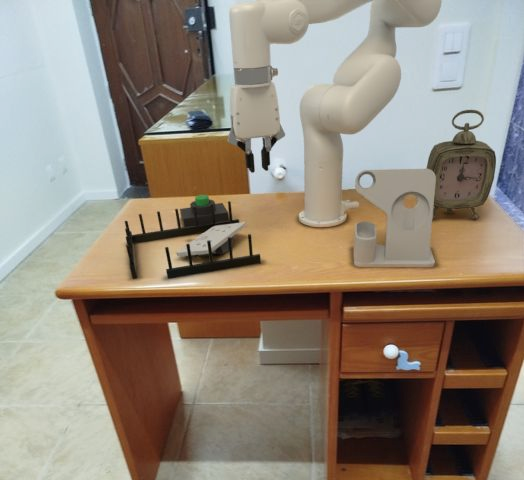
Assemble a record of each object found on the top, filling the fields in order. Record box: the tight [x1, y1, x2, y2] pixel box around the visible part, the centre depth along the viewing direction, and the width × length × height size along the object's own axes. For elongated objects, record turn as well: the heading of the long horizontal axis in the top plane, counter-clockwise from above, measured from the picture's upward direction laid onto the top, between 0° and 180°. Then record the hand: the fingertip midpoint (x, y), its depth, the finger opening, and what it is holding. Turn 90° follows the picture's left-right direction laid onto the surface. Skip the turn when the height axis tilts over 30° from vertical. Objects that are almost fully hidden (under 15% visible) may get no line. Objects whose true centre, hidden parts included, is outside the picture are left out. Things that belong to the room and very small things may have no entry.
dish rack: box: [124, 200, 262, 280], centre depth 113 cm, size 28×24×7 cm
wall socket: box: [175, 221, 247, 259], centre depth 115 cm, size 18×15×4 cm
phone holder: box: [352, 168, 436, 268], centre depth 102 cm, size 17×10×18 cm, turn 82°
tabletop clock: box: [425, 109, 497, 221], centre depth 117 cm, size 14×9×25 cm, turn 83°
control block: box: [179, 198, 230, 227], centre depth 130 cm, size 12×8×5 cm, turn 104°
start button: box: [194, 194, 210, 206], centre depth 128 cm, size 4×4×2 cm
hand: (258, 169), depth 108 cm, fingers closed
